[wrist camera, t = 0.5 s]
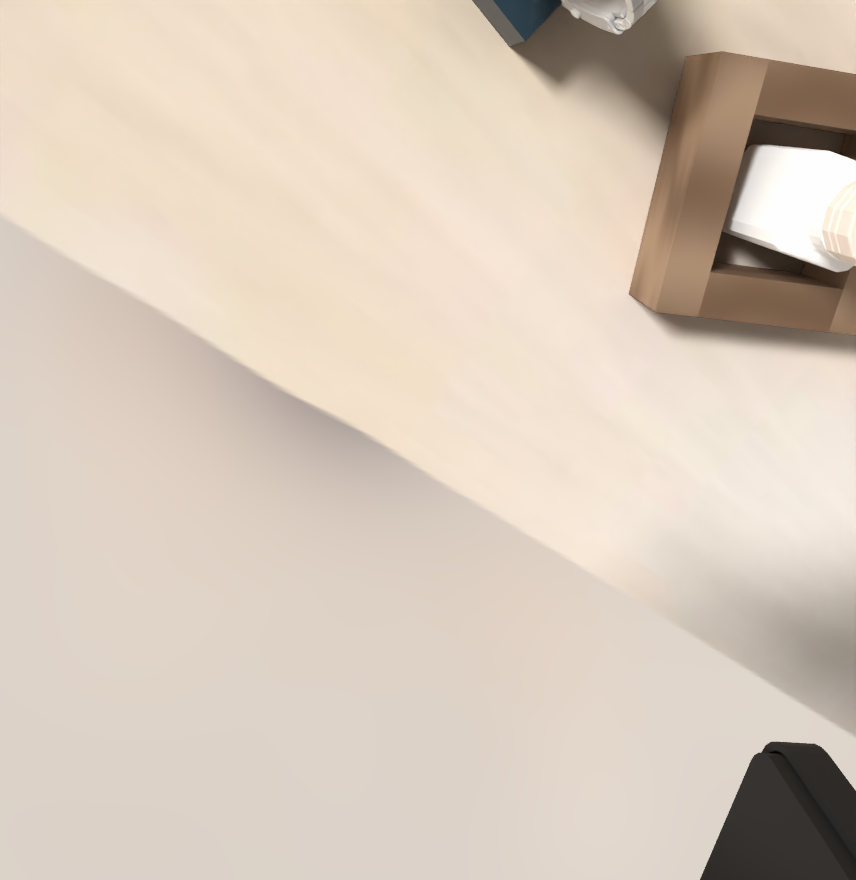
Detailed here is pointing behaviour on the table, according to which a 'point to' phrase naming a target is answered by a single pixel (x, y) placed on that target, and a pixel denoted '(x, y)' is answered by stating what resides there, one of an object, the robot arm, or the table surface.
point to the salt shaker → (796, 204)
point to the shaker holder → (710, 189)
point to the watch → (530, 3)
